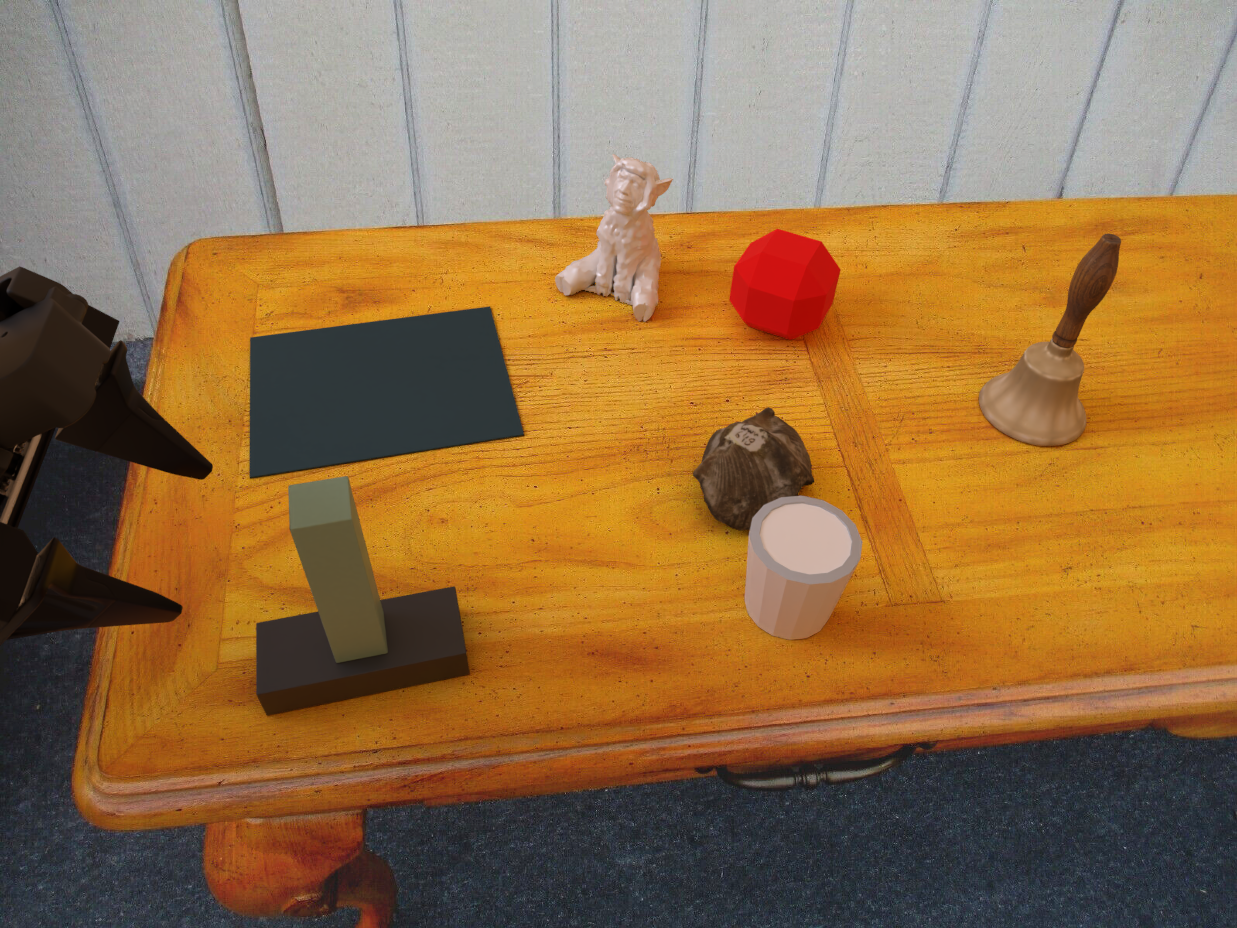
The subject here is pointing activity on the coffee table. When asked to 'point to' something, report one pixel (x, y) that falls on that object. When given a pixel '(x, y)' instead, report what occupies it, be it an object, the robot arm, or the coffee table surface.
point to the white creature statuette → (623, 241)
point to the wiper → (350, 617)
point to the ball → (784, 284)
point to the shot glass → (798, 565)
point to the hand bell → (1053, 364)
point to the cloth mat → (377, 391)
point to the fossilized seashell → (752, 468)
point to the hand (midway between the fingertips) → (194, 539)
